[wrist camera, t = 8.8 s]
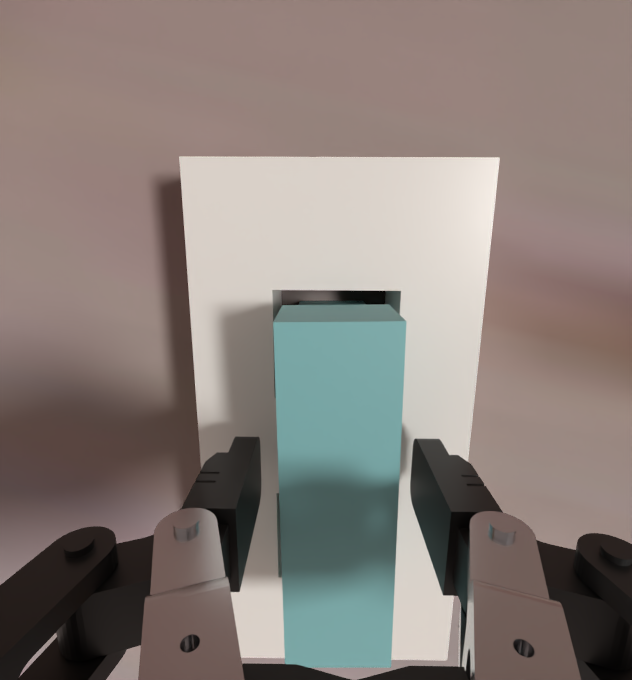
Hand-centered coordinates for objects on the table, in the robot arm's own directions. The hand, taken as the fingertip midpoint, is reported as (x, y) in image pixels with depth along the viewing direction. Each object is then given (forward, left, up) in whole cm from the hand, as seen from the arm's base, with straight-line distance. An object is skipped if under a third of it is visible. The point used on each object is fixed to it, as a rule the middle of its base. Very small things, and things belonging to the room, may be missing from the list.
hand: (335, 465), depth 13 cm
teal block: (0, 0, -4) cm, 4 cm away
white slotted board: (0, 0, -4) cm, 4 cm away
